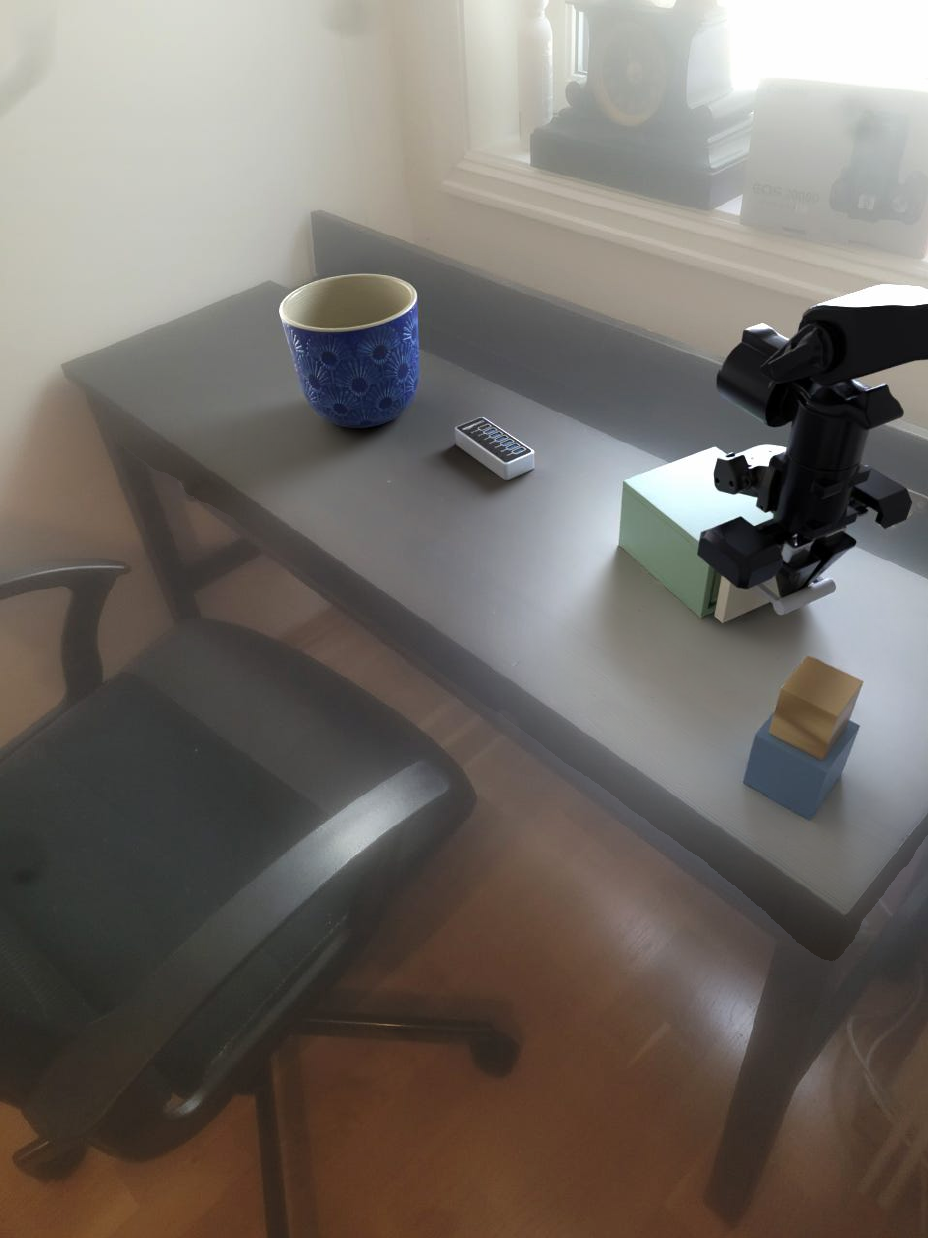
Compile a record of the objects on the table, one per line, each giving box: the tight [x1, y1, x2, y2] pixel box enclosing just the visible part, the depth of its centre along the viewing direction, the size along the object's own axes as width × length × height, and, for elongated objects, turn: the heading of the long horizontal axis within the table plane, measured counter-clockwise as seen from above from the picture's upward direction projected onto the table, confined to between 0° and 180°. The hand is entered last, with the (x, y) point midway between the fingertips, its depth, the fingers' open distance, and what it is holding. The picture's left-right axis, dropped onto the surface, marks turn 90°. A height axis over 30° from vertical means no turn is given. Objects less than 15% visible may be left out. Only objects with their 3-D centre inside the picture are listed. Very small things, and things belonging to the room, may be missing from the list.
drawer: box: [709, 570, 837, 624], centre depth 83 cm, size 17×10×6 cm, turn 28°
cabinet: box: [618, 446, 773, 619], centre depth 86 cm, size 14×12×8 cm
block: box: [769, 655, 864, 761], centre depth 63 cm, size 4×4×5 cm
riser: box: [742, 709, 861, 821], centre depth 67 cm, size 6×6×6 cm
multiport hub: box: [454, 416, 535, 481], centre depth 105 cm, size 4×11×2 cm, turn 34°
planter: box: [279, 273, 420, 429], centre depth 111 cm, size 17×17×15 cm
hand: (786, 598), depth 79 cm, fingers closed
